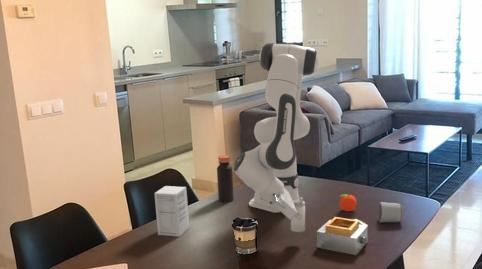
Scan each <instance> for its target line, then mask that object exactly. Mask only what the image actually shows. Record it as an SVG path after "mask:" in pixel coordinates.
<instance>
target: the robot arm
mask: <svg viewBox="0 0 482 269" xmlns="http://www.w3.org/2000/svg"><path fill="white" fill-rule="evenodd" d="M258 58H259V64H260V66H261V68H262V70H265V71H267V72H268V75H267V79H266V85H265V91H264V92H265V93H264V94H265V97H264V98H265V100H266V102H267V105H270V107H272V108H273V109H274V110H275V113H276V116H272V117H271V116H270V117H266V118H263V119H262V120H259V121H257V122H256V123H255V126H254V128H253V129H254V130H253V134H254V137H255V139H256V141H257V143H259V145H257V146H256V147H255V148H253V149H250V150H248V151H244V152H242V153H240V154H239V155H238V156H237V158H236V160H235V162H234V164H233V171H234V173H235V174H236V176H237V177H238V178H239V179H240V181H242V182H243V183H244V184H246V186H247V187H249V188H251V189H252V190H253V191H254V196H253V198H252V199H250V201H249V202H248V206H249V207H252V208H257V209H258V210H263V211H267V212H271V213H274V214H275V213H282V214H283V216H285V217H286V218H287V219H289V220H290V221H291V220H292V219H293V218H294V217H296V218H297V219H298V220H301V219H302V218H303V216H302V215H301V214H300V213H298V212H297V210H296V208H295V205H294V203H293V201H294V200H299V198H300V195H299V189H298V187H299V176H298V172H297V169H298V168H297V167H298V166H297V153H296V152H297V151H296V147H295V146H296V145H295V142H294V141H295V140H299V139H302V138H304V137H305V136H307V135H309V132H310V129H311V125H310V124H311V123H310V121H309V119H308V117H307V116H306V115H305V114H304V113H303V111H302V108H301V92H302V83H303V76H310V75H312V74H314V72H315V71H316V70H317V68H318V65H319V56H318V52H317V50H316V49H315V48H313V47H310V46H307V47H306V46H302V45H299V44H298V45H297V44H294V43H293V44H292V43H291V44H288V43H274V42H270V43H269V42H268V43H265V44H264V45H263V46H262V48H261V49H260V51H259V56H258Z"/></svg>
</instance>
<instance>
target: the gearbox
mask: <svg viewBox="0 0 482 269" xmlns="http://www.w3.org/2000/svg"><path fill="white" fill-rule="evenodd" d="M357 220H358V219H357ZM357 220H353V219H349V218H344V217H339V216H338V217H337V216H334V217H333V218H332V219H329V220H328V221H327V222H325V223H324V224H323V225H321V227H320V228H319V229H318V230H316V248H318V249H322V250H328V251H333V252H338V253H343V254H346V255H347V254H349V255H352V256H353V255H354V256H357V255H358V254H359V253H360V251H361V250H362V249H364V248H363V247H365V245H366V244H367V243H368V237H369V236H368V232H369V231H368V227H369V225H368V226H366V225H360V224H359V221H360V220H359V221H357Z"/></svg>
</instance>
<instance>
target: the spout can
mask: <svg viewBox="0 0 482 269" xmlns="http://www.w3.org/2000/svg"><path fill="white" fill-rule="evenodd" d="M293 203H294V205H295V208H296V210H297V212H298V213H300V214H301V215H302V216H303V218H302V219H301V220H298V219H297V218H296V217H294V218H293V219H292V220H290V231H292V232H295V233H302V232H303V233H304V231H306V202H305V201H304V199H303V197H302V196H301V197H300V196H299V200H294V201H293Z"/></svg>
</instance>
